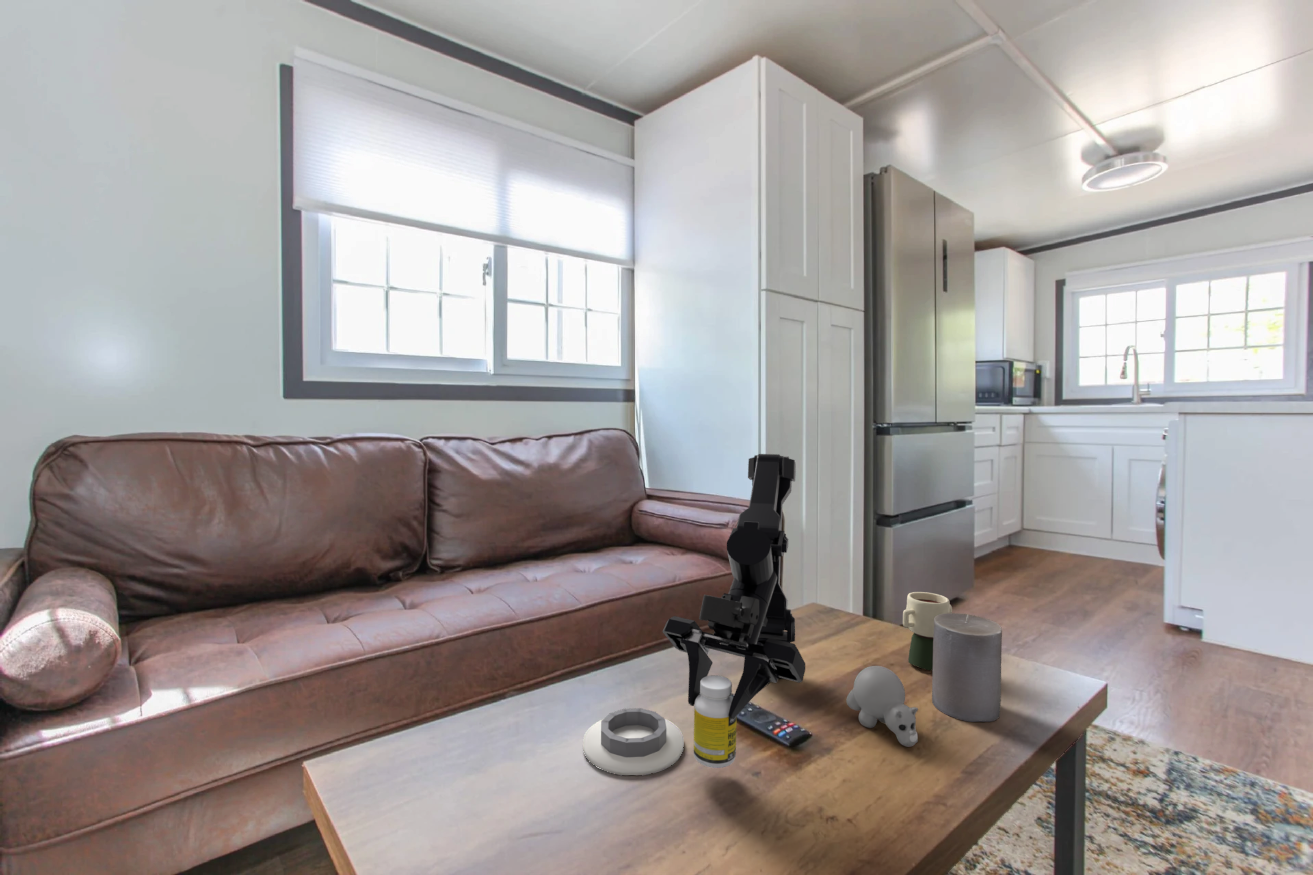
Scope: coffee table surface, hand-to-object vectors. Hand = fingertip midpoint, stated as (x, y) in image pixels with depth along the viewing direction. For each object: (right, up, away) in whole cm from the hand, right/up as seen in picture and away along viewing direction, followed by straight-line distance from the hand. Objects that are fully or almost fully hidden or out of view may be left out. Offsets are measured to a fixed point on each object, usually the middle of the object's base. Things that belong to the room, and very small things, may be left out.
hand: (710, 710), depth 74 cm
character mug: (+43, -8, +35) cm, 56 cm away
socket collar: (-10, -9, +9) cm, 16 cm away
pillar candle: (+42, -9, +20) cm, 48 cm away
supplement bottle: (+1, -7, +2) cm, 7 cm away
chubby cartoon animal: (+27, -9, +13) cm, 31 cm away
